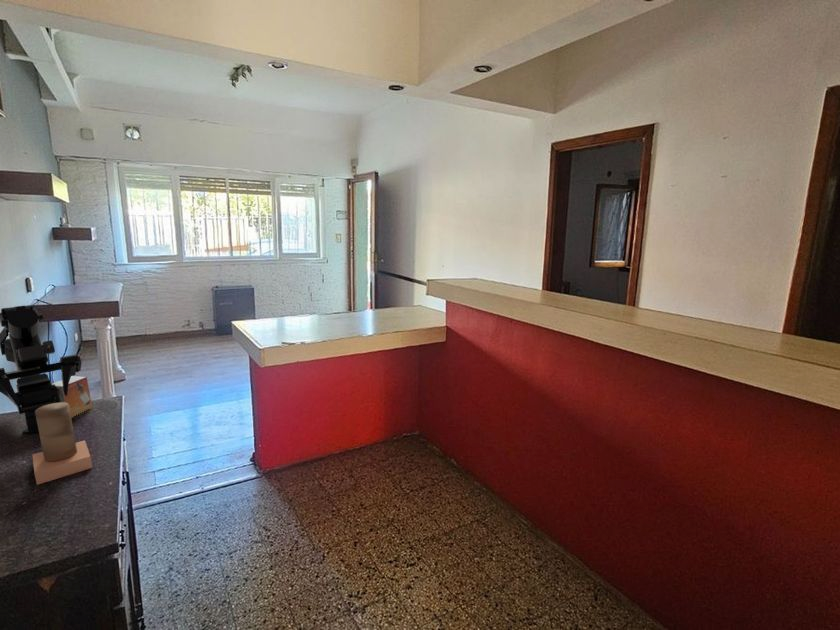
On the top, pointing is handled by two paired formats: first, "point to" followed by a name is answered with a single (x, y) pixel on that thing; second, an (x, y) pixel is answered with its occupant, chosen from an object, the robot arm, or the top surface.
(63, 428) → the beige tall cylinder
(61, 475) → the terracotta plinth
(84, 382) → the small box
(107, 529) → the top surface
